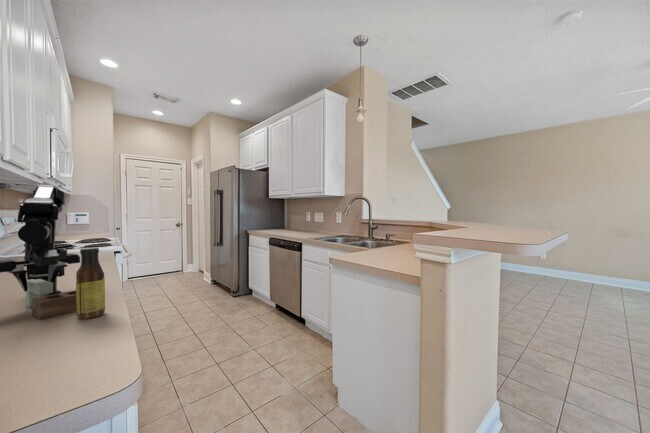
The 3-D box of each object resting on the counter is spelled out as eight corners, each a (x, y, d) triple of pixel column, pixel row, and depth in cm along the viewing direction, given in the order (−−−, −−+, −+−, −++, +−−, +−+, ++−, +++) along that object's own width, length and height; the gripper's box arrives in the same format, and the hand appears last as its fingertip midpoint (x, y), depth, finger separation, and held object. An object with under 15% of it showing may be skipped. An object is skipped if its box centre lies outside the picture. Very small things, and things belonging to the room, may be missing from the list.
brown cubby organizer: (31, 316, 75) (32, 298, 75) (84, 303, 86) (84, 288, 86) (40, 320, 72) (40, 302, 72) (93, 306, 83) (94, 291, 83)
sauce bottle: (110, 312, 79) (111, 247, 79) (90, 320, 73) (90, 250, 72) (91, 311, 79) (92, 246, 79) (69, 319, 73) (70, 249, 73)
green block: (26, 305, 83) (26, 280, 83) (39, 303, 85) (39, 278, 85) (39, 311, 78) (39, 285, 78) (52, 308, 81) (53, 282, 81)
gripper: (1, 244, 70) (1, 302, 70) (88, 239, 87) (87, 285, 87) (-12, 242, 75) (-13, 295, 75) (72, 237, 92) (72, 281, 92)
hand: (38, 289), depth 82 cm, fingers open, 5 cm apart
